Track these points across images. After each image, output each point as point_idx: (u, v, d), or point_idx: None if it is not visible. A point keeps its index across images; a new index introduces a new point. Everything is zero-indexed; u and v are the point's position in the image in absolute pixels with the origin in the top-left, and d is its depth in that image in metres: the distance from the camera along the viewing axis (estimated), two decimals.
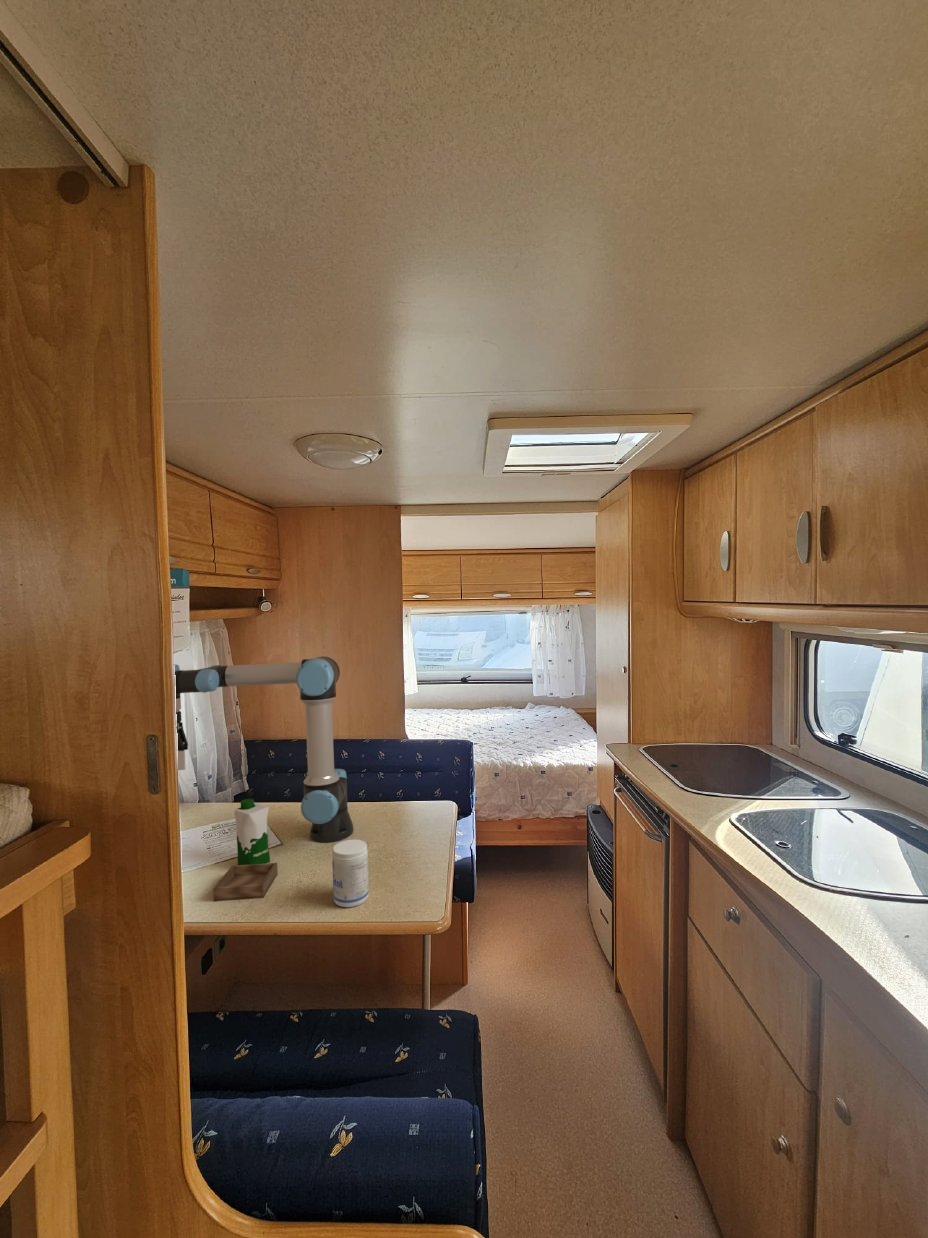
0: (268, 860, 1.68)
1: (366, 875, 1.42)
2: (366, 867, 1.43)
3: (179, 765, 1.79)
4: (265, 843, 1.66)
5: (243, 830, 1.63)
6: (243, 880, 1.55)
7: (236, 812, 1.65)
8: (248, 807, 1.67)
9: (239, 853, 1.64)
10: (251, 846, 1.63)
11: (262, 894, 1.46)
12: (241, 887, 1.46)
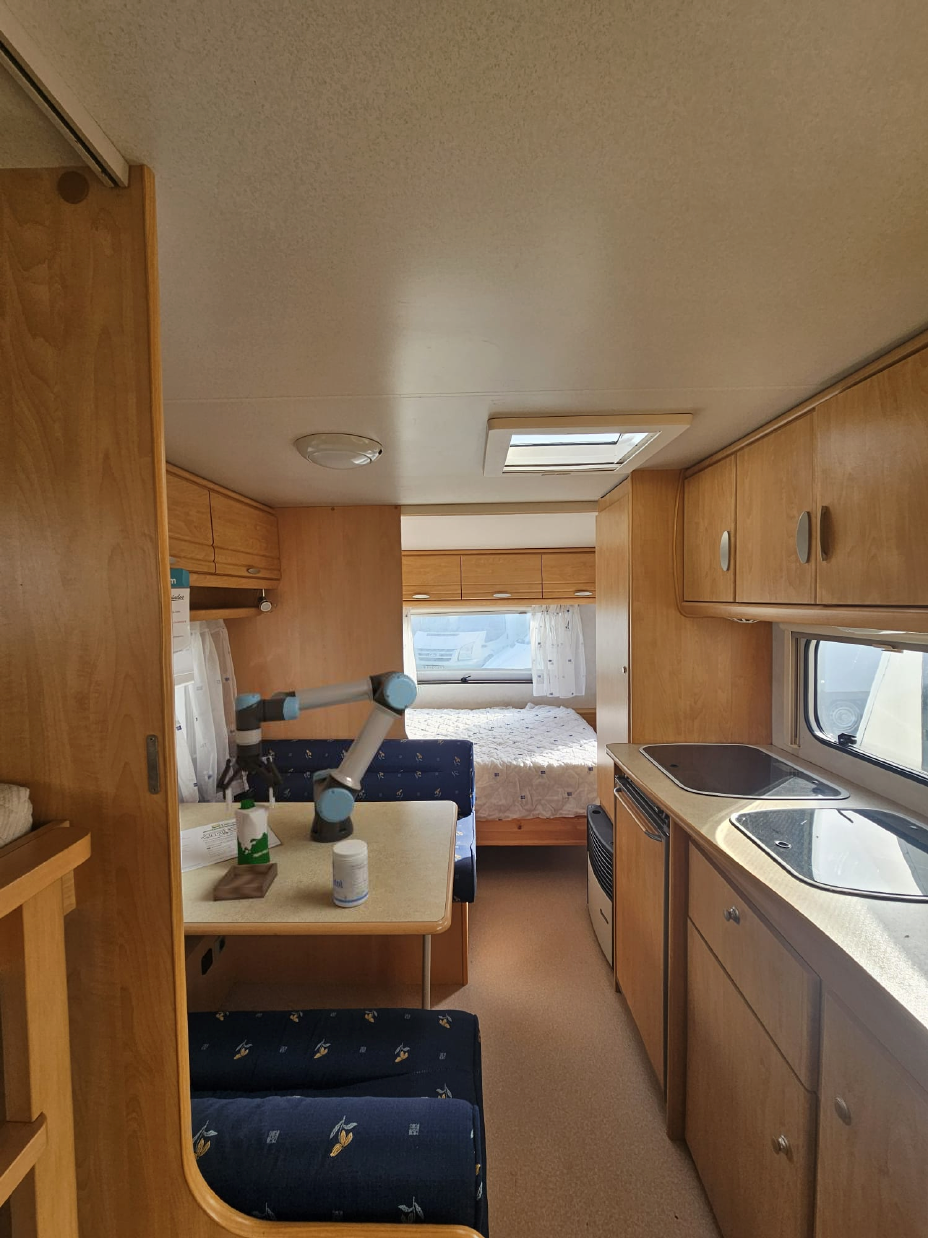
0: (268, 860, 1.68)
1: (366, 875, 1.42)
2: (366, 867, 1.43)
3: None
4: (265, 843, 1.66)
5: (243, 830, 1.63)
6: (243, 880, 1.55)
7: (236, 812, 1.65)
8: (248, 807, 1.67)
9: (239, 853, 1.64)
10: (251, 846, 1.63)
11: (262, 894, 1.46)
12: (241, 887, 1.46)
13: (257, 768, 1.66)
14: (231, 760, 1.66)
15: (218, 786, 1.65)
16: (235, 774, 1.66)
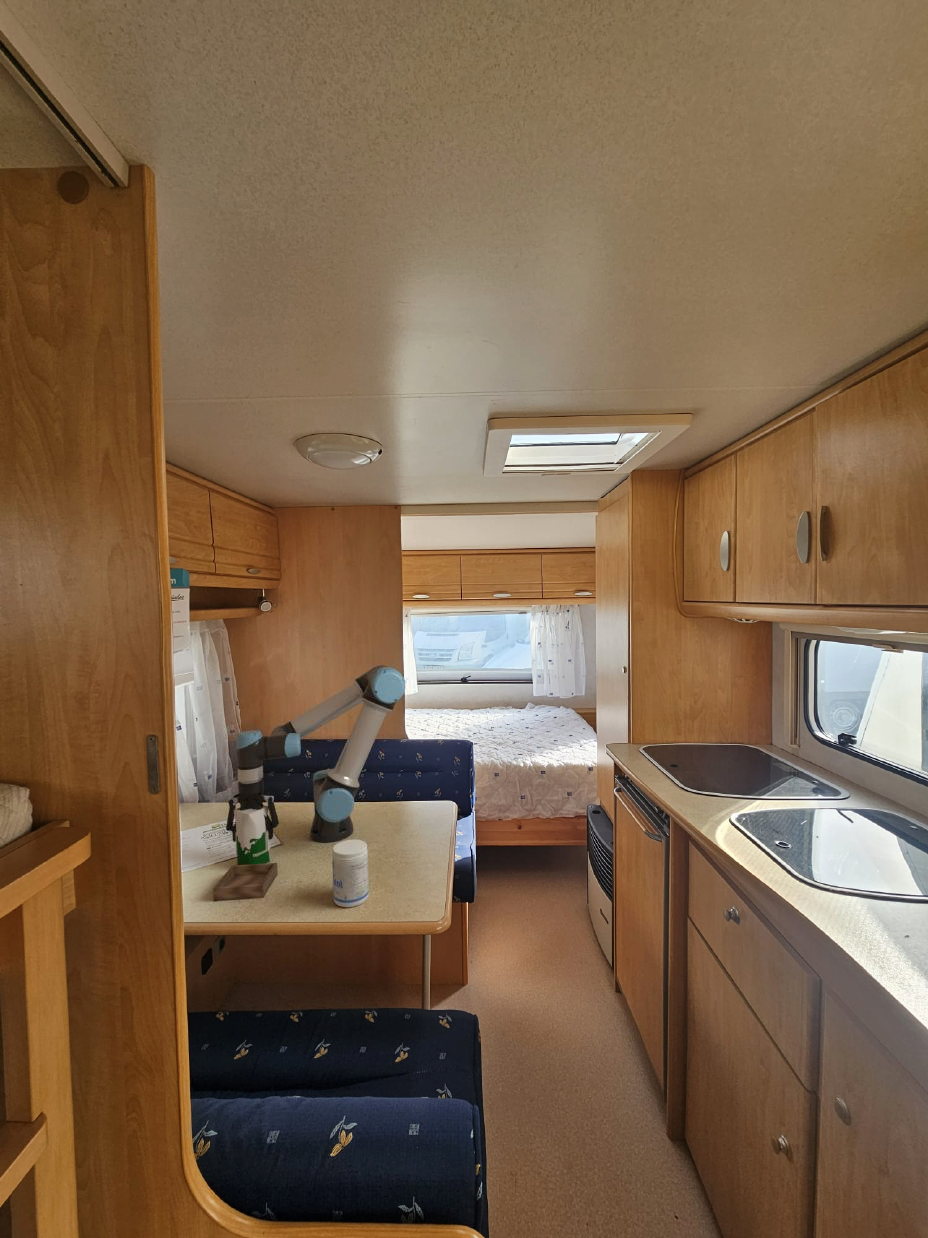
0: (268, 860, 1.68)
1: (366, 875, 1.42)
2: (366, 867, 1.43)
3: None
4: (265, 843, 1.66)
5: (243, 830, 1.63)
6: (243, 880, 1.55)
7: (236, 812, 1.65)
8: None
9: (239, 853, 1.64)
10: (251, 846, 1.63)
11: (262, 894, 1.46)
12: (241, 887, 1.46)
13: (258, 807, 1.66)
14: (233, 800, 1.66)
15: (228, 828, 1.66)
16: None
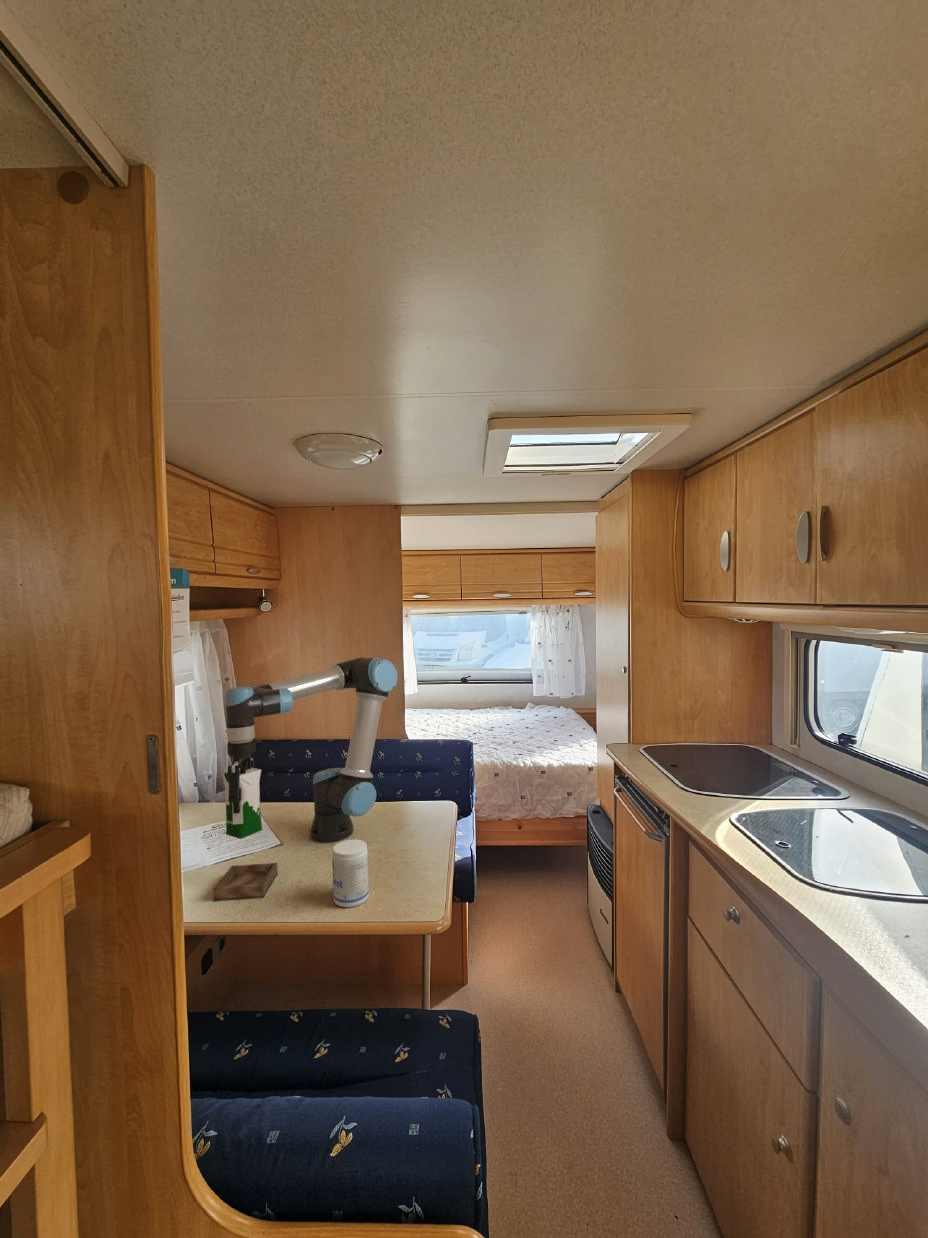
0: None
1: (366, 875, 1.42)
2: (366, 867, 1.43)
3: None
4: None
5: (256, 789, 1.51)
6: (243, 880, 1.55)
7: (242, 776, 1.48)
8: None
9: (249, 819, 1.49)
10: (259, 805, 1.53)
11: (262, 894, 1.46)
12: (241, 887, 1.46)
13: (251, 766, 1.55)
14: None
15: (238, 798, 1.45)
16: None
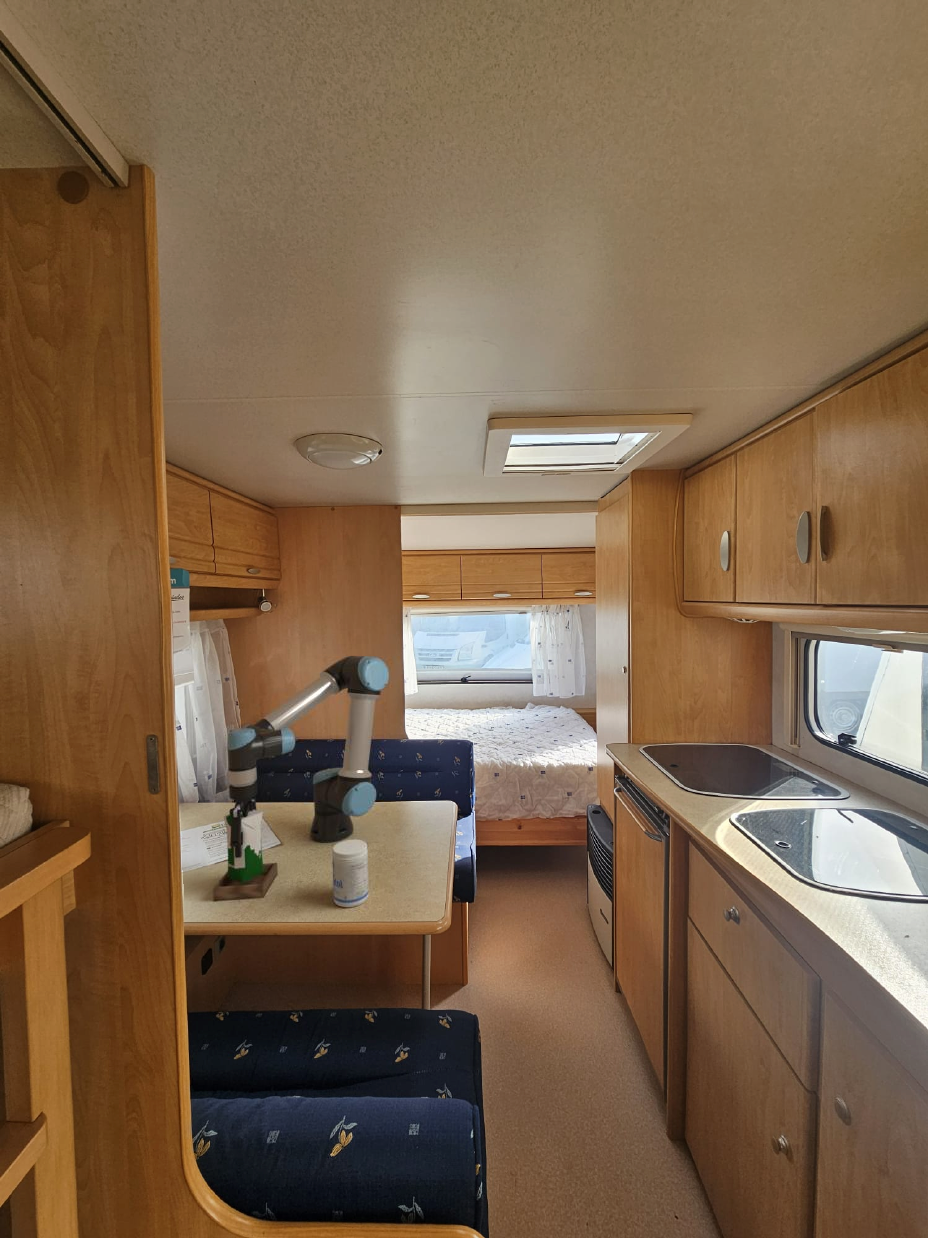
0: None
1: (366, 875, 1.42)
2: (366, 867, 1.43)
3: None
4: None
5: (258, 832, 1.51)
6: None
7: (244, 820, 1.48)
8: None
9: (250, 863, 1.49)
10: (261, 847, 1.53)
11: (262, 894, 1.46)
12: (241, 887, 1.46)
13: (252, 808, 1.55)
14: None
15: (240, 843, 1.45)
16: None
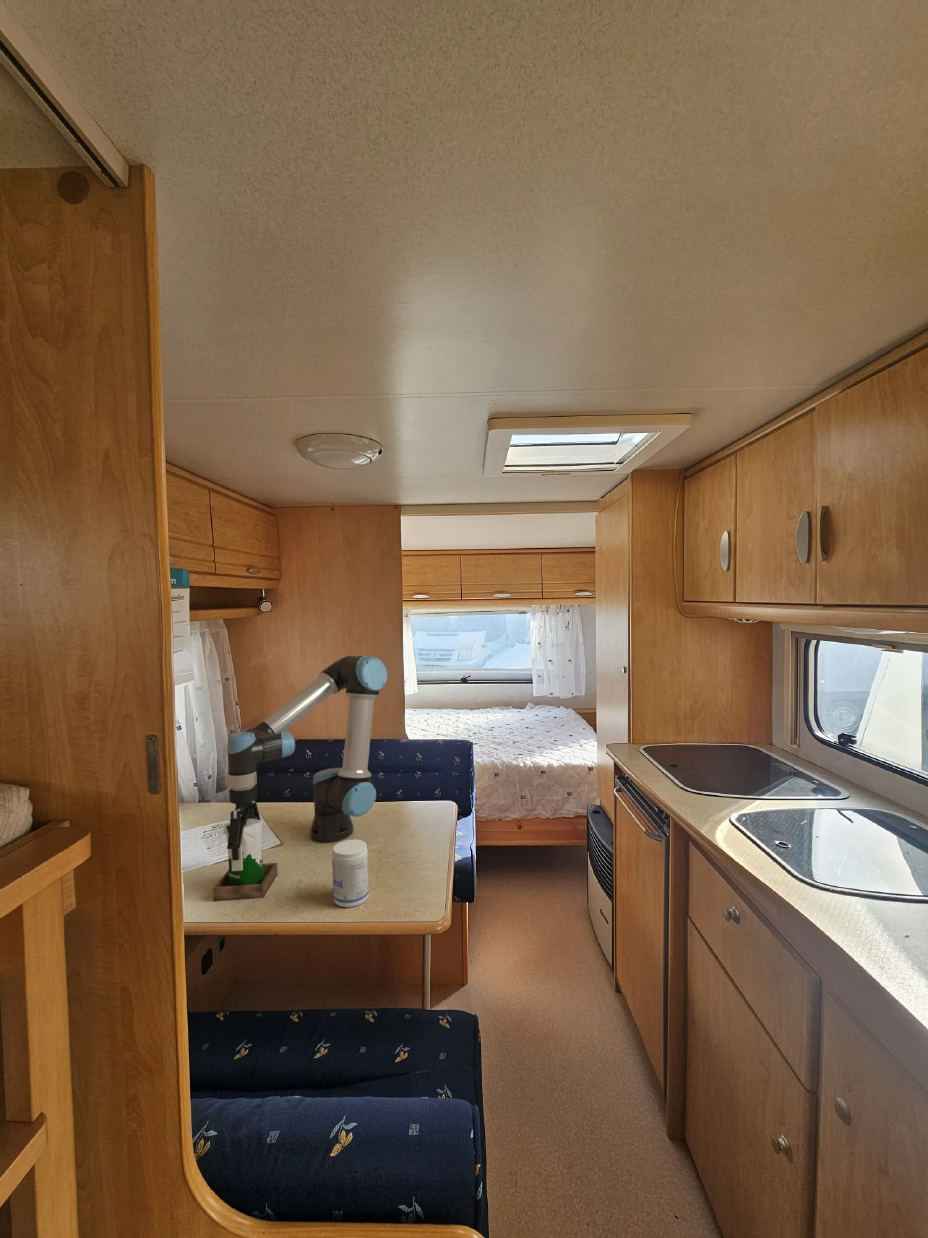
0: None
1: (366, 875, 1.42)
2: (366, 867, 1.43)
3: None
4: None
5: (259, 841, 1.52)
6: None
7: (245, 829, 1.49)
8: None
9: (252, 872, 1.49)
10: None
11: (262, 894, 1.46)
12: (241, 887, 1.46)
13: (253, 810, 1.56)
14: None
15: (237, 846, 1.43)
16: (243, 825, 1.49)
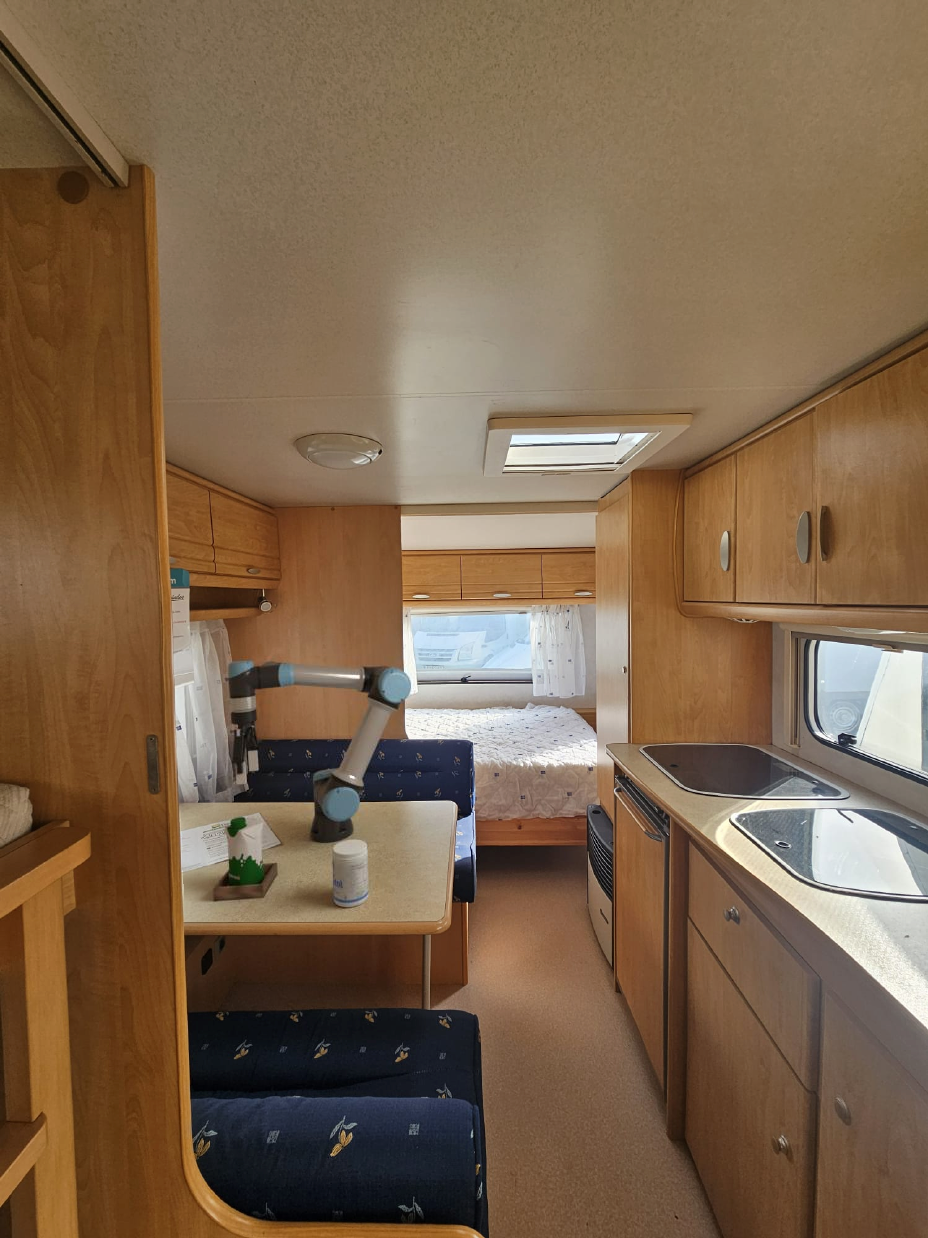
0: None
1: (366, 875, 1.42)
2: (366, 867, 1.43)
3: (252, 766, 1.71)
4: None
5: (259, 842, 1.52)
6: None
7: (246, 831, 1.48)
8: None
9: (252, 873, 1.49)
10: (262, 857, 1.54)
11: (262, 894, 1.46)
12: (241, 887, 1.46)
13: (253, 733, 1.68)
14: None
15: (241, 759, 1.55)
16: (245, 743, 1.60)
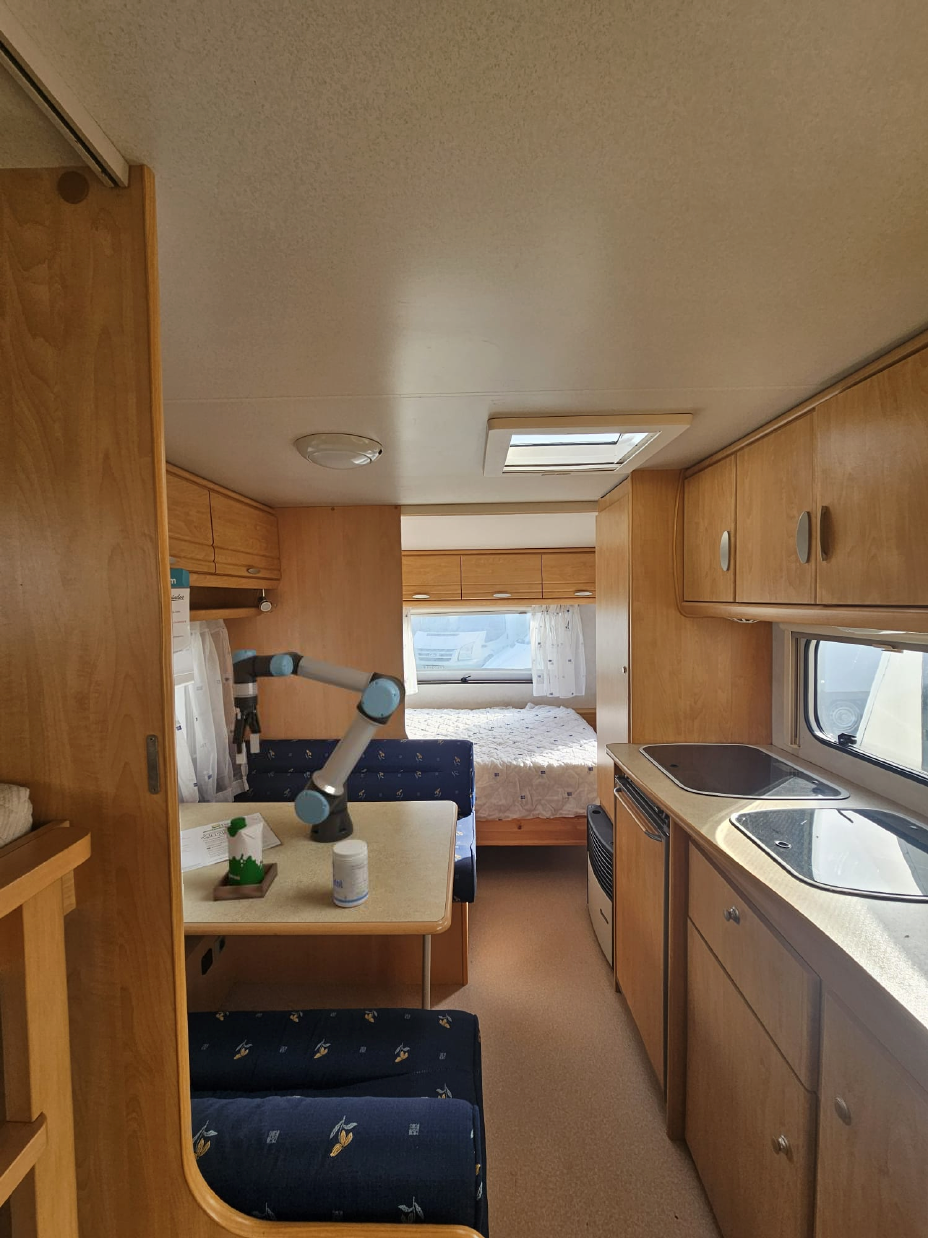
0: None
1: (366, 875, 1.42)
2: (366, 867, 1.43)
3: (253, 748, 1.83)
4: None
5: (259, 842, 1.52)
6: None
7: (246, 831, 1.48)
8: None
9: (252, 873, 1.49)
10: (262, 857, 1.54)
11: (262, 894, 1.46)
12: (241, 887, 1.46)
13: (254, 717, 1.80)
14: None
15: (241, 740, 1.68)
16: (246, 726, 1.73)
